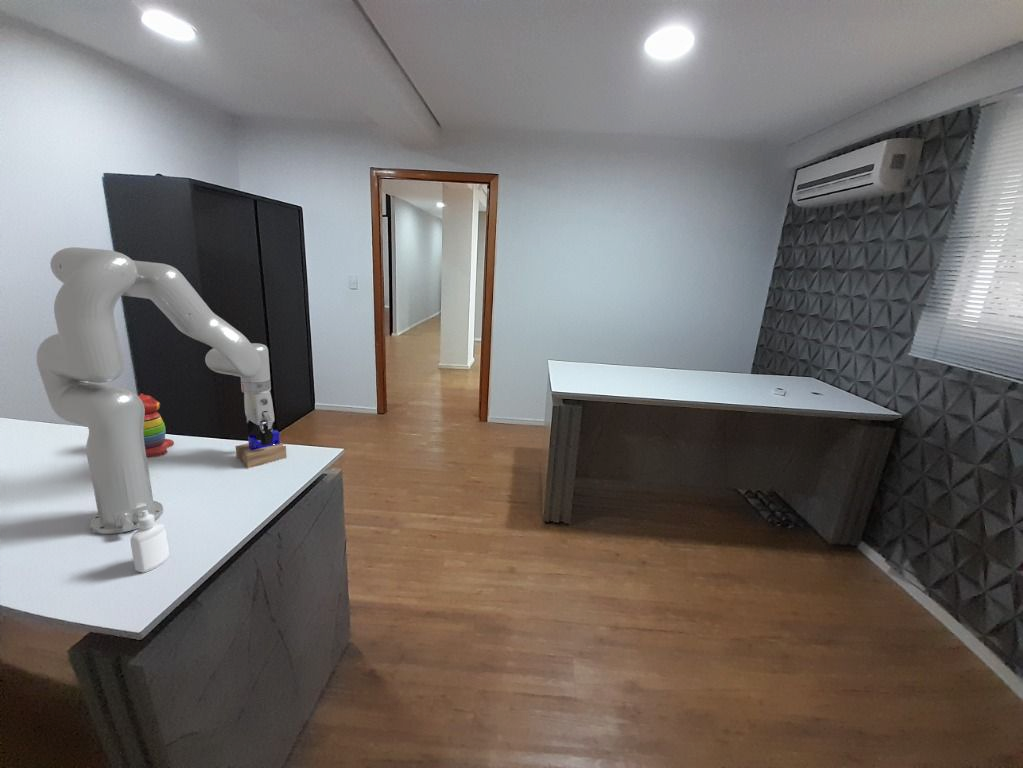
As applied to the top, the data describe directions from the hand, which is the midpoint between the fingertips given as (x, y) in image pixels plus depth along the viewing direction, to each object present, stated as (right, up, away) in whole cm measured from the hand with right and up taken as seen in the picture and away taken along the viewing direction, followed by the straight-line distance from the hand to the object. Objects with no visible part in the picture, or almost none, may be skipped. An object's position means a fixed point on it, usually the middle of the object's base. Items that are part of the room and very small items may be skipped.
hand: (260, 439), depth 132 cm
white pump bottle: (+5, -19, -46) cm, 50 cm away
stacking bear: (-34, -4, +1) cm, 35 cm away
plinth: (0, -6, +2) cm, 6 cm away
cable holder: (0, -2, +1) cm, 2 cm away
